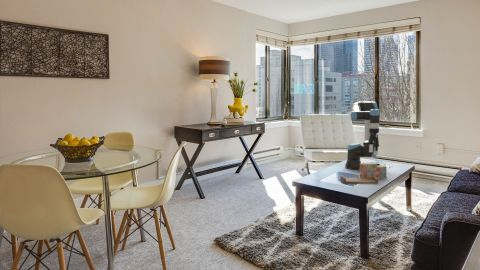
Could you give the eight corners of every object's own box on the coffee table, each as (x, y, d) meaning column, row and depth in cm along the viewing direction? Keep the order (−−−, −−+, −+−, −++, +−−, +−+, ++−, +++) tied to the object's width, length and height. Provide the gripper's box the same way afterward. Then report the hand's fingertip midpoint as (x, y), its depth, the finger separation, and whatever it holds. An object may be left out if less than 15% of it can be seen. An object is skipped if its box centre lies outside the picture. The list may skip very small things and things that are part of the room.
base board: (340, 179, 278) (340, 174, 278) (373, 179, 276) (373, 175, 275) (343, 183, 266) (344, 178, 266) (378, 183, 264) (378, 178, 263)
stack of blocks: (381, 175, 290) (382, 161, 288) (386, 177, 284) (387, 163, 282) (359, 177, 286) (359, 163, 284) (363, 179, 279) (363, 164, 278)
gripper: (365, 126, 293) (364, 151, 295) (374, 129, 268) (373, 156, 270) (374, 126, 292) (373, 151, 294) (383, 129, 267) (382, 156, 270)
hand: (373, 153), depth 282 cm, fingers open, 13 cm apart
